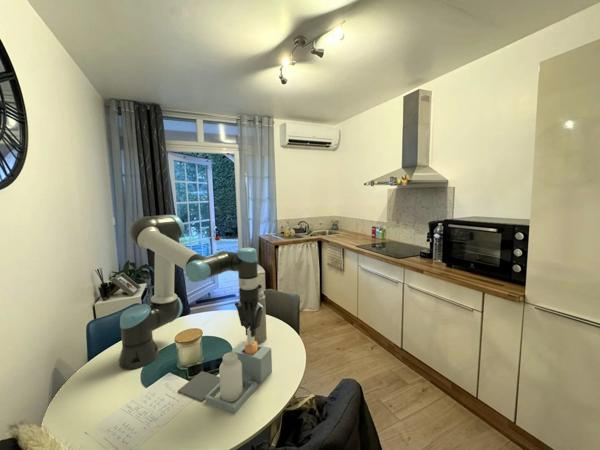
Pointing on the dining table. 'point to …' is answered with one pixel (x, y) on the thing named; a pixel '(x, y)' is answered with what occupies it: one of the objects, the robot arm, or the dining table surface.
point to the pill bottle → (230, 377)
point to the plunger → (251, 348)
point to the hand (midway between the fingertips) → (251, 343)
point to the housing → (246, 375)
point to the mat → (200, 386)
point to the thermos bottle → (261, 330)
